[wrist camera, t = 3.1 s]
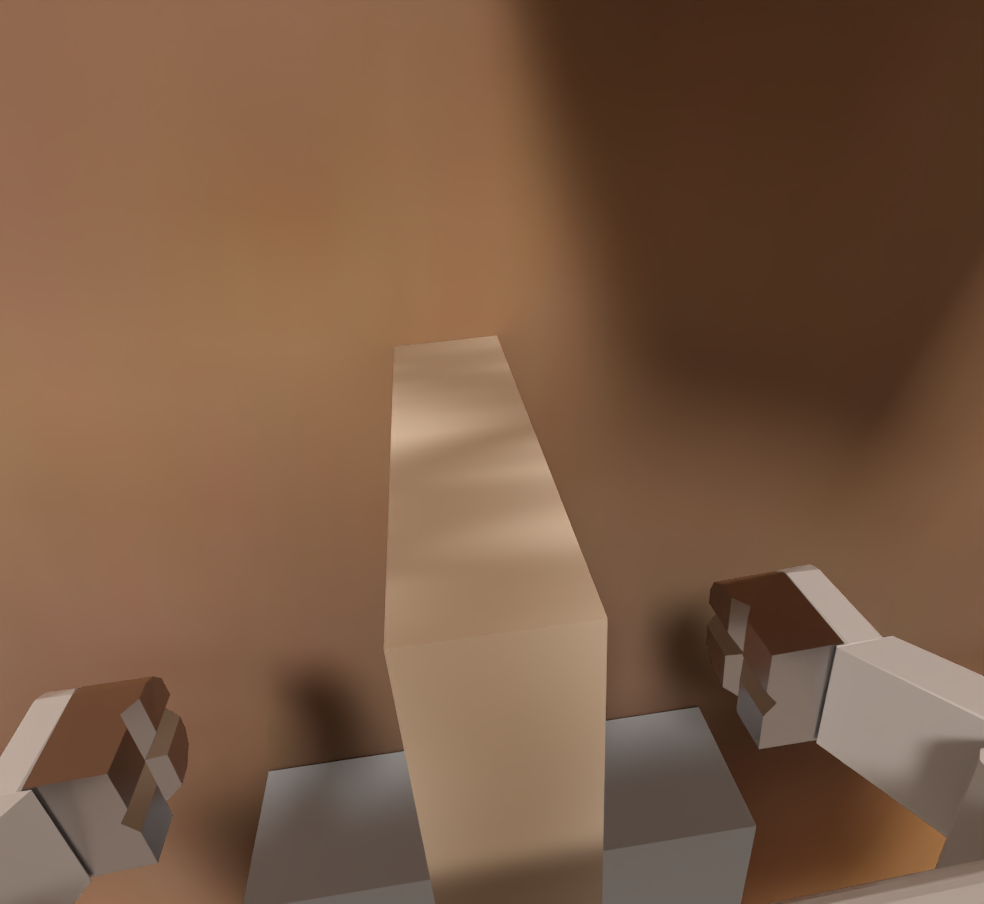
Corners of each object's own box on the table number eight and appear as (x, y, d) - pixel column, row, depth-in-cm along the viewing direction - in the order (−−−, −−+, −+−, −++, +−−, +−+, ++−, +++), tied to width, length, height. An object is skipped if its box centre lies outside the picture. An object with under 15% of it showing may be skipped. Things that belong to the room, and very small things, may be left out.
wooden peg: (497, 335, 13) (606, 618, 6) (511, 543, 15) (602, 918, 8) (394, 346, 13) (383, 648, 6) (425, 554, 15) (443, 945, 8)
